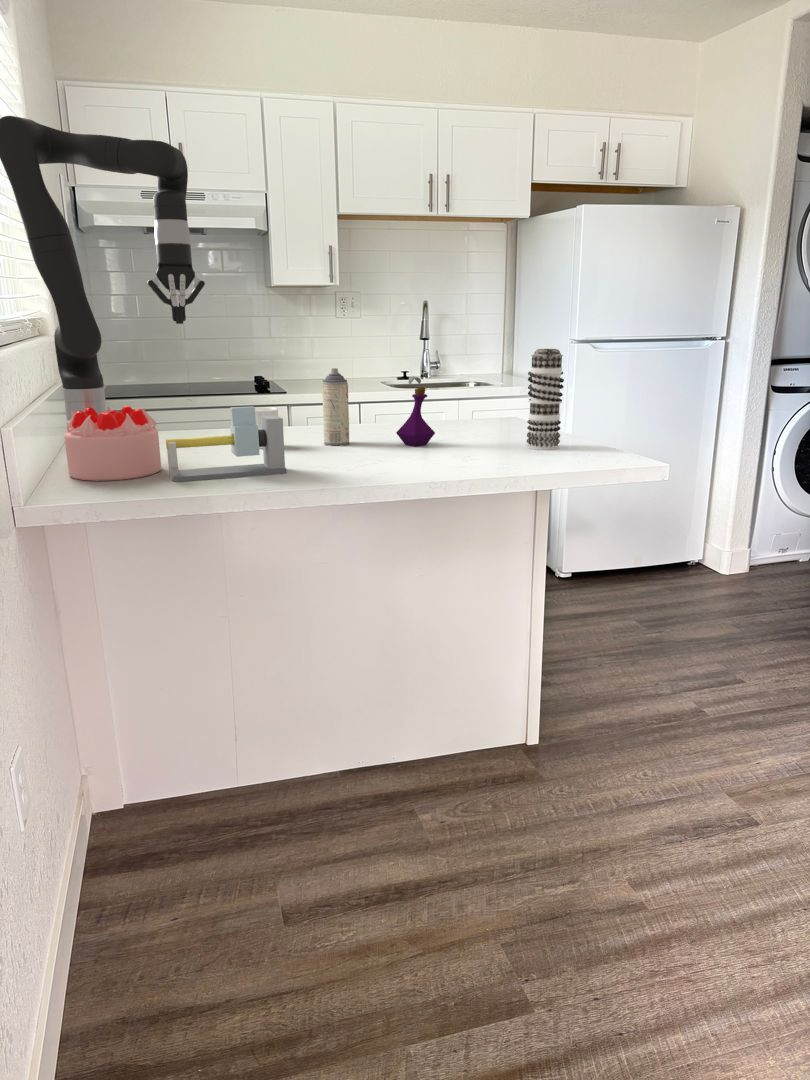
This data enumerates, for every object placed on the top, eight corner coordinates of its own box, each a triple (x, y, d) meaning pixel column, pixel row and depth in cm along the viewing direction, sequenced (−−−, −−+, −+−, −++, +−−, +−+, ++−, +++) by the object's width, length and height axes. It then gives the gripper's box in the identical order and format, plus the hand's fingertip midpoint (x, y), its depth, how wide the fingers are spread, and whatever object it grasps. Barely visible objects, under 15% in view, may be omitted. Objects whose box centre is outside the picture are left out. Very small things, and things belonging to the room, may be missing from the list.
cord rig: (171, 482, 167) (166, 425, 164) (167, 475, 174) (162, 420, 171) (286, 473, 176) (283, 418, 173) (278, 466, 183) (275, 414, 180)
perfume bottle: (416, 441, 217) (416, 374, 212) (435, 444, 212) (435, 376, 207) (395, 444, 212) (395, 376, 207) (415, 448, 207) (414, 378, 202)
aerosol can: (353, 444, 213) (351, 368, 207) (329, 446, 210) (327, 369, 204) (343, 441, 218) (341, 367, 213) (320, 443, 215) (317, 368, 210)
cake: (59, 471, 180) (51, 408, 176) (146, 461, 191) (141, 402, 187) (82, 485, 165) (74, 417, 161) (175, 474, 176) (170, 409, 172)
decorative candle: (523, 444, 211) (526, 348, 204) (558, 444, 211) (562, 348, 204) (526, 450, 203) (530, 350, 196) (563, 450, 202) (568, 349, 195)
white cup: (244, 448, 208) (242, 410, 205) (258, 443, 215) (256, 406, 212) (271, 450, 205) (269, 411, 203) (284, 445, 213) (282, 407, 210)
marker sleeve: (236, 456, 172) (233, 409, 169) (231, 452, 177) (228, 406, 175) (259, 455, 173) (256, 408, 171) (253, 450, 179) (251, 405, 176)
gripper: (142, 240, 170) (150, 324, 175) (205, 242, 174) (211, 323, 179) (140, 243, 176) (148, 323, 181) (201, 244, 181) (206, 323, 186)
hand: (179, 323), depth 180 cm, fingers closed
